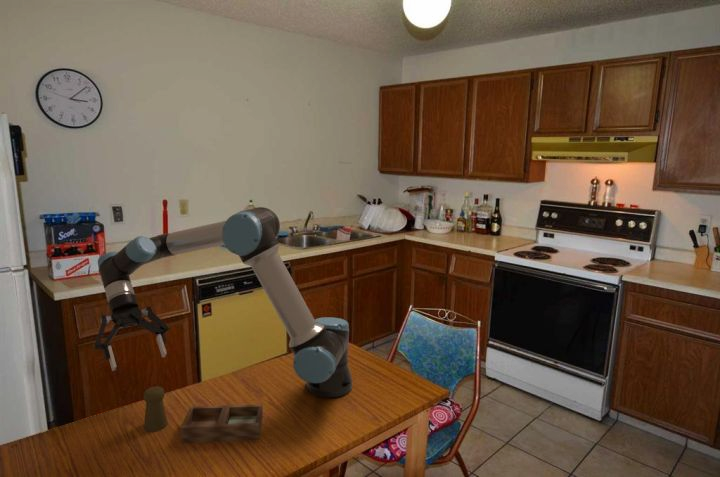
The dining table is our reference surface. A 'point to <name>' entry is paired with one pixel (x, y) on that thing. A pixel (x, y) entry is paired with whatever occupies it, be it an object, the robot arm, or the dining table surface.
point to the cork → (154, 410)
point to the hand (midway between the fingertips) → (140, 362)
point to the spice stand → (222, 423)
